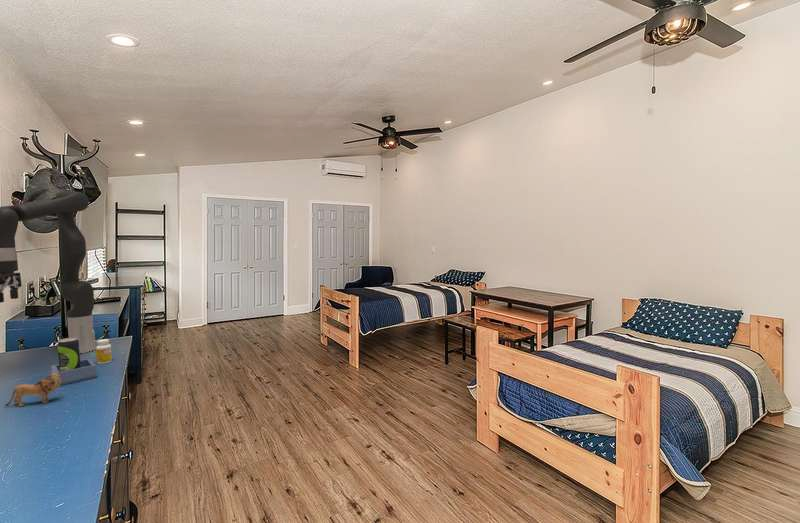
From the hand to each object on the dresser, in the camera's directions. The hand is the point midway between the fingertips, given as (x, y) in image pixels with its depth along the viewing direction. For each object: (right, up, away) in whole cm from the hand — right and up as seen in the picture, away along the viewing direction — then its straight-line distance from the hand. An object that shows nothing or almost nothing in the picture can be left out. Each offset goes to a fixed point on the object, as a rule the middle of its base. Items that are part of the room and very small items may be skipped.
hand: (7, 300), depth 153 cm
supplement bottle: (+25, -29, +18) cm, 42 cm away
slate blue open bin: (+27, -30, -1) cm, 41 cm away
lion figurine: (+32, -32, -22) cm, 50 cm away
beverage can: (+27, -30, -3) cm, 40 cm away
